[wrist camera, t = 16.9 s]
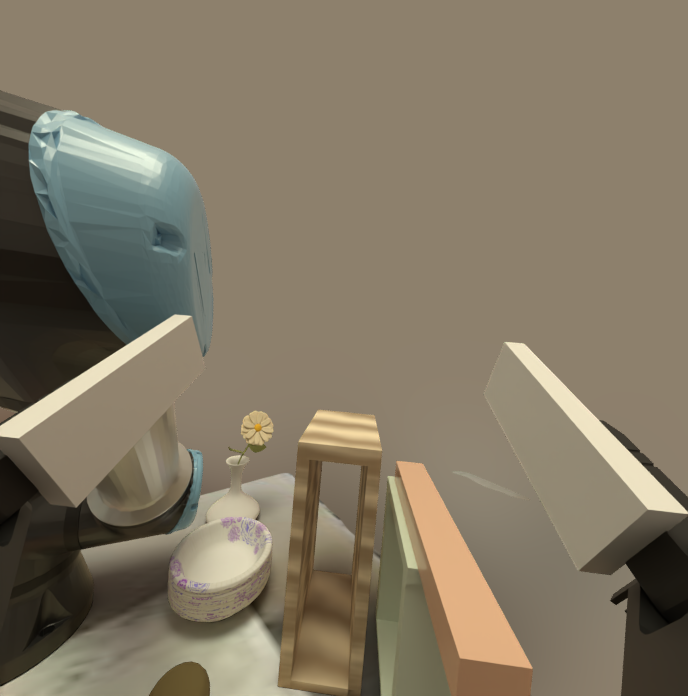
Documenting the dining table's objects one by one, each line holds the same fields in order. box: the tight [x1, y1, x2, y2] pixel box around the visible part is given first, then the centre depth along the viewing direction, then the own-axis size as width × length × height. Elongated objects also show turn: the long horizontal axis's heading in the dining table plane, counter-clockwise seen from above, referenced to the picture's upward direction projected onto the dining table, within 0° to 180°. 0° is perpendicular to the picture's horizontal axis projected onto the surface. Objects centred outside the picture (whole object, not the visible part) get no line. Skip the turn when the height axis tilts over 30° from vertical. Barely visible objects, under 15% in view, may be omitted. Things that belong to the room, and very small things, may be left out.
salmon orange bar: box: [395, 461, 533, 696], centre depth 28 cm, size 26×4×3 cm, turn 177°
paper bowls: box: [168, 517, 273, 622], centre depth 44 cm, size 15×15×8 cm
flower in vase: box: [206, 411, 273, 523], centre depth 62 cm, size 13×11×25 cm
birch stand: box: [278, 410, 382, 696], centre depth 40 cm, size 16×10×30 cm, turn 177°
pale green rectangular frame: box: [375, 476, 451, 696], centre depth 34 cm, size 18×6×22 cm, turn 177°
